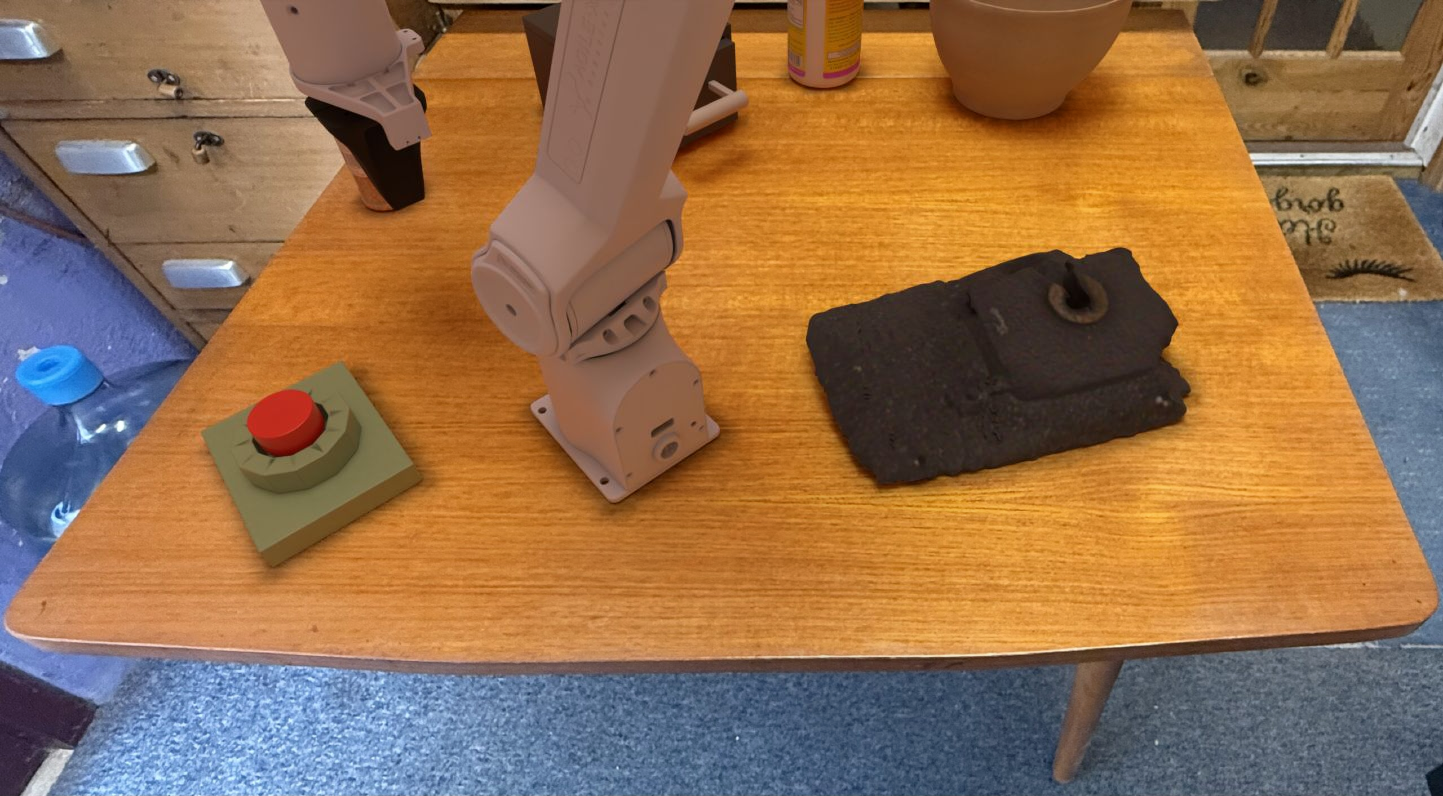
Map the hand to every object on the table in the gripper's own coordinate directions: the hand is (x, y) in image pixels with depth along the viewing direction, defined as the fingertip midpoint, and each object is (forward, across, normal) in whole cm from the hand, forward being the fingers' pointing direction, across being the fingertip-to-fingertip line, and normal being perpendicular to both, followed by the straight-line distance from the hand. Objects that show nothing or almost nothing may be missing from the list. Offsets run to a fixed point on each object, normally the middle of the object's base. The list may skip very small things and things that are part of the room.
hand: (406, 200), depth 51 cm
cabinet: (+9, +12, -24) cm, 29 cm away
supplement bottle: (+10, +7, -41) cm, 43 cm away
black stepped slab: (+10, -28, -24) cm, 38 cm away
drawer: (+9, +9, -24) cm, 27 cm away
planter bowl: (+10, -7, -51) cm, 52 cm away
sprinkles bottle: (+10, +16, -2) cm, 19 cm away
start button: (+6, -7, +12) cm, 16 cm away
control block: (+9, -7, +12) cm, 17 cm away
